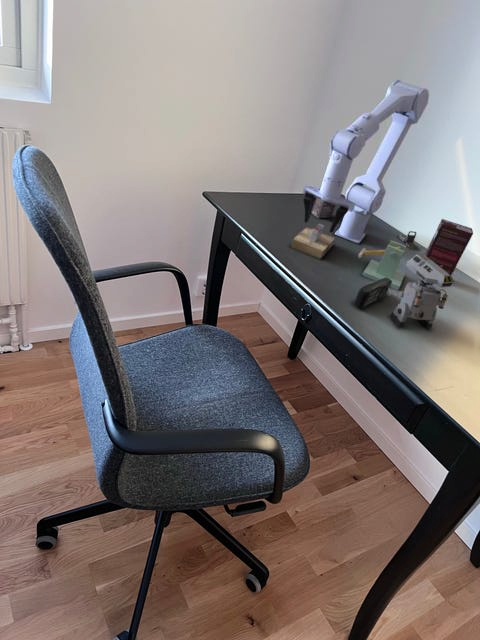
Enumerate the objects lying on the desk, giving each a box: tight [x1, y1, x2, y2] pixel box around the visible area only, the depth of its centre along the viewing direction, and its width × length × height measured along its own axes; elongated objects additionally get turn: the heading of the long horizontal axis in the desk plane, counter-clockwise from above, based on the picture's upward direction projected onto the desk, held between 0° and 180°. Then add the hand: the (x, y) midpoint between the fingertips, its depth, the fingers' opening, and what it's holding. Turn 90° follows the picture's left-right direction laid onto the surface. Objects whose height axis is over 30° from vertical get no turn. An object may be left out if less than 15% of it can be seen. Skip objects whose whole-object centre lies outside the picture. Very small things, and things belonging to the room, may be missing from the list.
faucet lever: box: [357, 246, 401, 259], centre depth 126 cm, size 10×6×2 cm, turn 63°
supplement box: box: [424, 218, 474, 276], centre depth 131 cm, size 9×5×16 cm, turn 71°
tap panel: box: [290, 226, 336, 260], centre depth 133 cm, size 12×10×3 cm
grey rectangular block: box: [309, 223, 325, 242], centre depth 131 cm, size 6×2×4 cm, turn 154°
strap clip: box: [398, 230, 419, 250], centre depth 152 cm, size 8×3×4 cm, turn 15°
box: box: [311, 180, 337, 219], centre depth 153 cm, size 6×4×12 cm
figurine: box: [387, 253, 455, 329], centre depth 107 cm, size 9×12×15 cm
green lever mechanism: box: [362, 239, 407, 291], centre depth 125 cm, size 10×10×9 cm
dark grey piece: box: [353, 278, 392, 309], centre depth 114 cm, size 5×3×15 cm
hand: (318, 226), depth 130 cm, fingers open, 7 cm apart
